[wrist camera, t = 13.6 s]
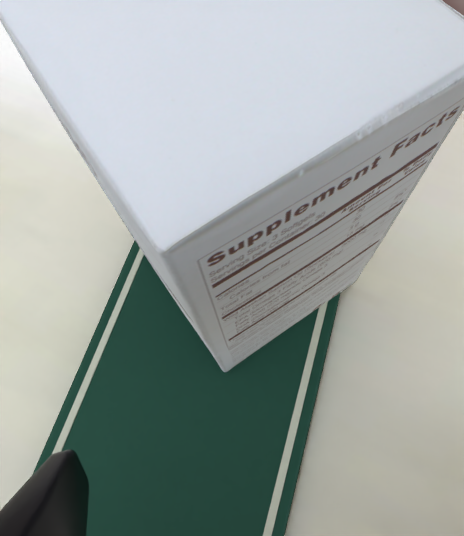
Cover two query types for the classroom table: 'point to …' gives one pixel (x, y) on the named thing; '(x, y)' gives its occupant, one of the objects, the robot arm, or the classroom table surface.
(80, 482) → the robot arm
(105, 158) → the white packaging box
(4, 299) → the classroom table surface
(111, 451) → the green mat
